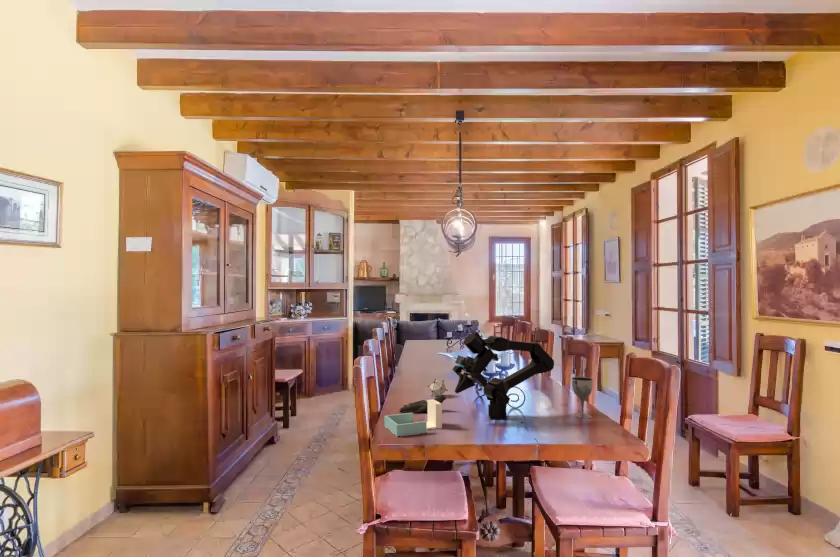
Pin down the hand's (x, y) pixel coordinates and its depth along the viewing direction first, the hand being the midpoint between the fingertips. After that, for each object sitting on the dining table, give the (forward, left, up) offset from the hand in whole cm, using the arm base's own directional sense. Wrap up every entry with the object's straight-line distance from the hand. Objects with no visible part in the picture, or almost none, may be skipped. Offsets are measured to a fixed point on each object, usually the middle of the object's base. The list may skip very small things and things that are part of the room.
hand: (455, 392), depth 183 cm
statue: (+14, -15, -12) cm, 24 cm away
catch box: (+18, +9, -12) cm, 23 cm away
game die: (+8, -43, -12) cm, 45 cm away
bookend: (+11, +6, -12) cm, 17 cm away
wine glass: (-51, -13, -12) cm, 54 cm away
